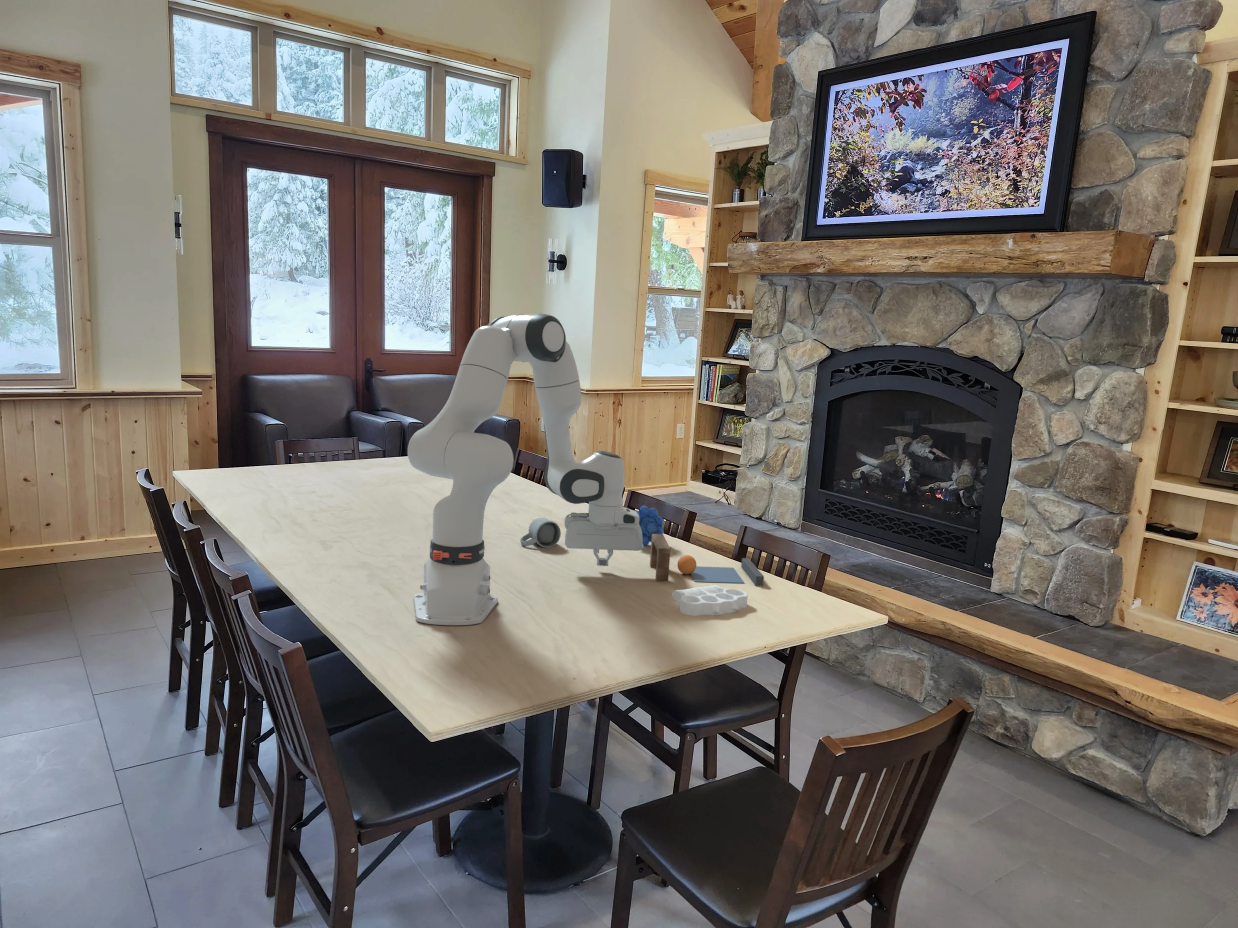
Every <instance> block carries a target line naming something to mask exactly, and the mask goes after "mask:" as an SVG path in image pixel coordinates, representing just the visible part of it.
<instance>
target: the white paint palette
mask: <svg viewBox="0 0 1238 928" xmlns="http://www.w3.org/2000/svg"><path fill="white" fill-rule="evenodd" d="M748 597H749V596H748V593H747V592H746V591H744V590H741V589H736V588H725V587H724V588H723V587H721V586H719V585H716V584H711V585H709V586H701V587H698V586H695V587H693V588H686V589H676V590H674V591H672V598H673V600H674V601H675V602H677V603H679V604H680V605H679V606H680V607H679V611H680V613H682V614H684V615H687V616H693V617H699V616H704V615H706V616H721V615H724V614H733V613H735V612H737V611H738V610H741V609H746V608H747V607H748Z"/></svg>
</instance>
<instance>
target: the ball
mask: <svg viewBox="0 0 1238 928" xmlns="http://www.w3.org/2000/svg"><path fill="white" fill-rule="evenodd" d="M695 559H696V558H694V557H693V556H691V555H683V556H680V558H679V559H678V560H677V569H678V570H679V572H680V573H681V574H683V575H691V573H693V572H694V571H695V569H696V566H697V561H696V560H695Z"/></svg>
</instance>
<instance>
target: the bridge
mask: <svg viewBox="0 0 1238 928" xmlns="http://www.w3.org/2000/svg"><path fill="white" fill-rule="evenodd" d="M649 558H650V559H649V566H650V568H655V581H656V582H663V583H664V582H669V574H670V561H671V547H670V545H669V543H668V541H667V539H666V537H665V535H664V533H663V534H652V541H651V542H650V556H649Z"/></svg>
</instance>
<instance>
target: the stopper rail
mask: <svg viewBox="0 0 1238 928" xmlns="http://www.w3.org/2000/svg"><path fill="white" fill-rule="evenodd" d="M740 567H741V569H742V570H743V572H744V573H745V574H746V575H747V577H748V578H749V580H750V581H751V582H752V583H753V584H754V586H756V587H757V586H758V587H760V586H761V587H763V586H764V578H765V576H764V575H763V573H762V572H760V569H758V568H757V566H756V565H755V564H754V563H753V562H752V560H751V559H750V558H745V557H743V558H741V565H740Z"/></svg>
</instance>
